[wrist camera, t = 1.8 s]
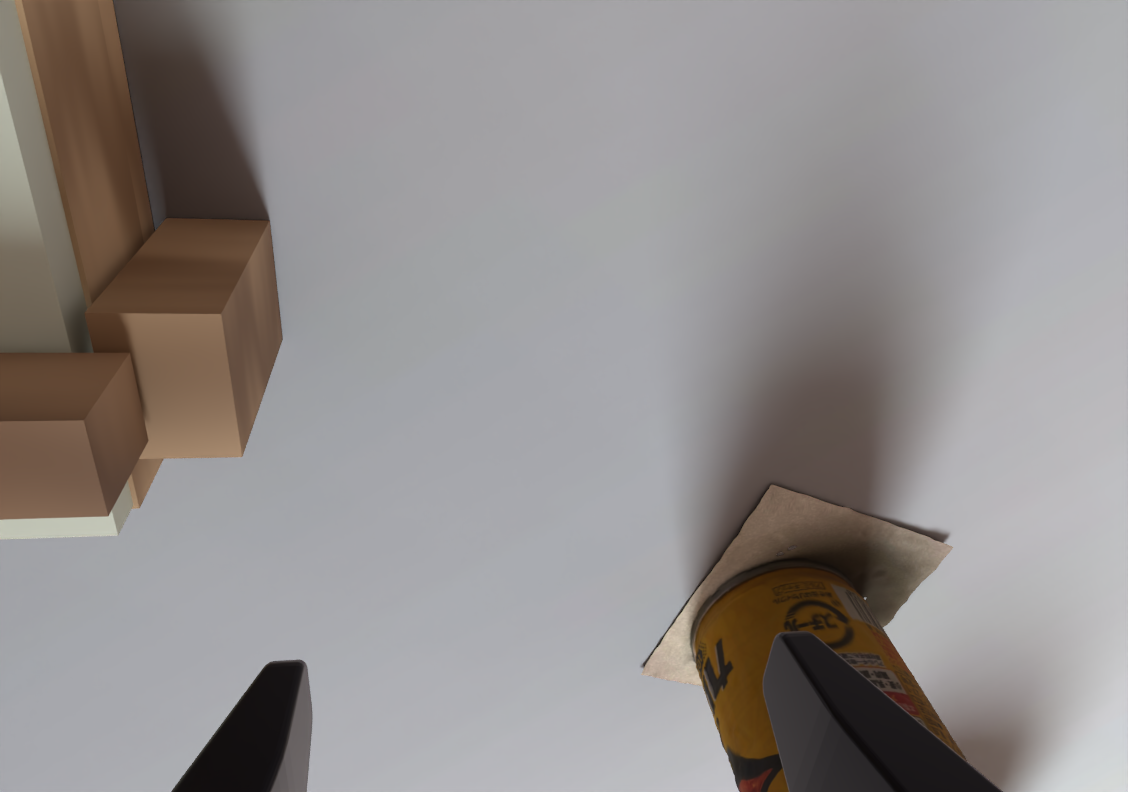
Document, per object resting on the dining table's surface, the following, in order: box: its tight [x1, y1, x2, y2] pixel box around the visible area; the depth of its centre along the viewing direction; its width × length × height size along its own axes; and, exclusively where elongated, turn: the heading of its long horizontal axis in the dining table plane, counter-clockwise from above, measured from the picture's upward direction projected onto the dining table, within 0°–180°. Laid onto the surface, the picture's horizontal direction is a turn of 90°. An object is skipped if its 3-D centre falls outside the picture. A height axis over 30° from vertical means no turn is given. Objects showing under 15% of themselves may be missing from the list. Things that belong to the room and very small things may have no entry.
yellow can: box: [641, 485, 967, 792], centre depth 22 cm, size 7×8×12 cm
